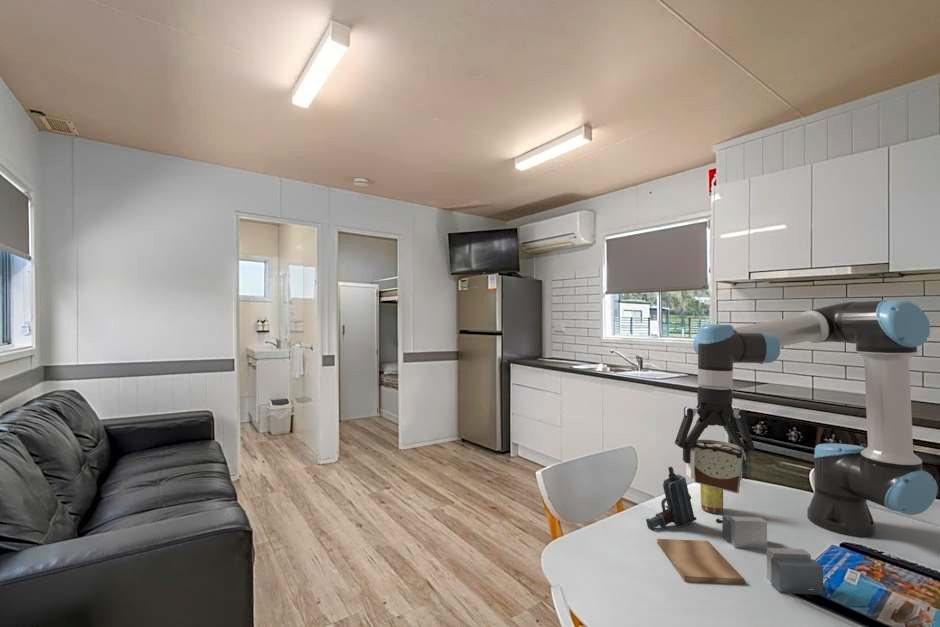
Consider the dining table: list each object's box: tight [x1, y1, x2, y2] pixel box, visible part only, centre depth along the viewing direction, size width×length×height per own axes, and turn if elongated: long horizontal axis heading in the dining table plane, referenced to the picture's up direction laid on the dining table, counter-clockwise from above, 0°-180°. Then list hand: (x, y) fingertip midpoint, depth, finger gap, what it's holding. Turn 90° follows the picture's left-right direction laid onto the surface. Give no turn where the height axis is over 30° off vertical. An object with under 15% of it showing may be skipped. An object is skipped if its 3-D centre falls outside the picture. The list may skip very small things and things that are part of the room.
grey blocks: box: [715, 514, 824, 596], centre depth 109 cm, size 9×28×7 cm, turn 176°
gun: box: [645, 466, 697, 531], centre depth 126 cm, size 3×17×15 cm
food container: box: [692, 439, 747, 494], centre depth 107 cm, size 12×6×10 cm, turn 45°
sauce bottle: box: [699, 484, 724, 514], centre depth 137 cm, size 7×6×20 cm
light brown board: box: [656, 538, 745, 585], centre depth 107 cm, size 13×17×1 cm
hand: (713, 477), depth 108 cm, fingers closed on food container, 10 cm apart
